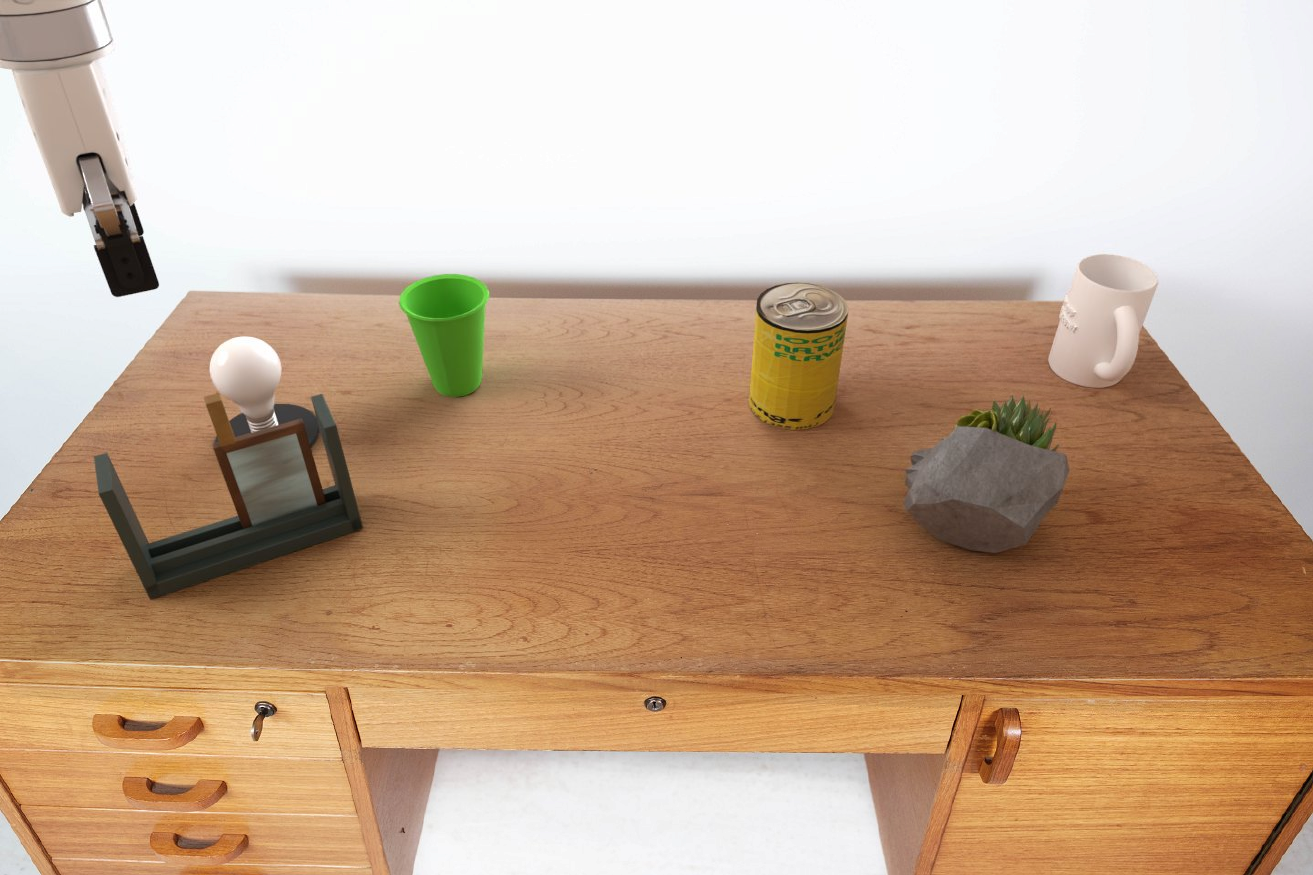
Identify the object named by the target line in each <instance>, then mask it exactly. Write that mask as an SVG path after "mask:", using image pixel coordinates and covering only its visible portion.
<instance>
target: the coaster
mask: <svg viewBox="0 0 1313 875" xmlns="http://www.w3.org/2000/svg"><path fill="white" fill-rule="evenodd" d="M274 411H275V415H276V418H277V421H278V424H279V425H280V424H284V423H287V422H291V421H294V420H298V419H302V420H303V423H304V426H305V430H306V433H307V437H308V440H309V444H310V447H311V448H312V447H313V446H314V445H315V444H316V442H317V440H318V438H319V436H320V433H321V432H320V429H319V425H318V422H317V418H316V414H314V412H312V411H311V410H310V409H307V408H306V407H304V406H301V405H297V404H292V403H275V404H274ZM229 422H230V425H231V428H232V430H233V433H234V436H235V437H238V436H241V435H245V434H248V433H251V430H250V426H249V425H248V422H247V419H246V416H245V415H244V414H243V413H242V412H241V413H239V414H237V415H235V416H234V417H232V418H231V419H229ZM216 442H219V440H218V437H217V435H216V436H215V439H214V443H216Z"/></svg>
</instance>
